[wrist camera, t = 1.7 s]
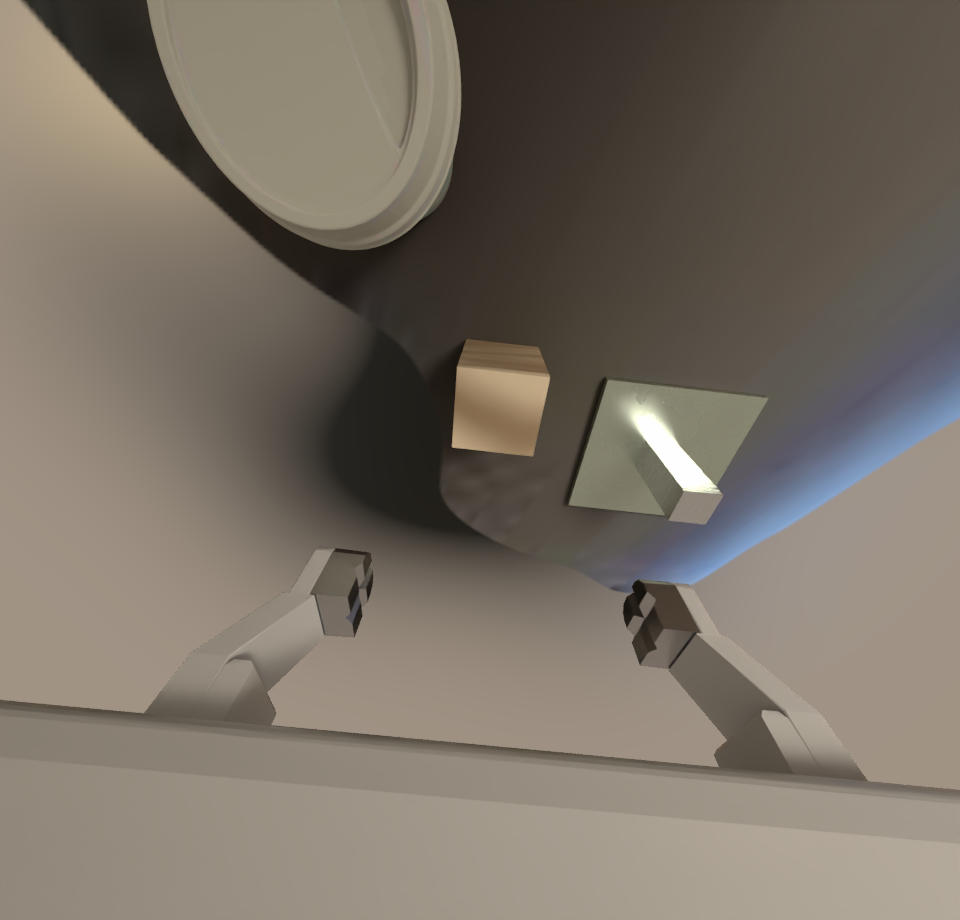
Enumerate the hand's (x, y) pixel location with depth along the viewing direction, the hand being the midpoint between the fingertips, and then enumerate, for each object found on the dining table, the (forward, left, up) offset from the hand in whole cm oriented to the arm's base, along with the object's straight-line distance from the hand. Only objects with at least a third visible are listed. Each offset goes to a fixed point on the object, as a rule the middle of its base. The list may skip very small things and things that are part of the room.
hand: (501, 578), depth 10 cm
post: (+5, +14, -18) cm, 23 cm away
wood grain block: (0, 0, -18) cm, 18 cm away
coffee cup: (-12, -7, -18) cm, 23 cm away
